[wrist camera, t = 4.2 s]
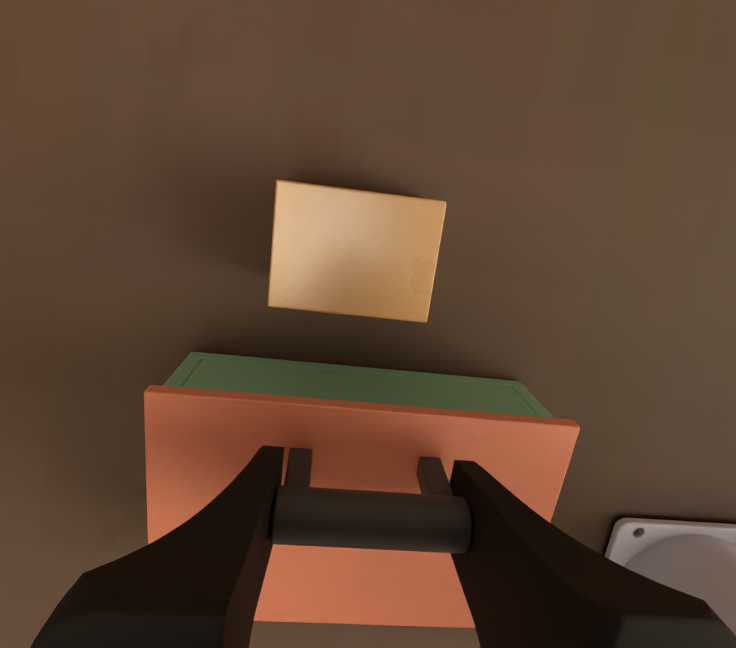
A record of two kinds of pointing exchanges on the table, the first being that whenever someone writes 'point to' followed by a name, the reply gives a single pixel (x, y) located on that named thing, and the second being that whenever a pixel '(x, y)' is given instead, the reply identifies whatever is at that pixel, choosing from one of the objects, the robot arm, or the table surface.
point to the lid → (350, 493)
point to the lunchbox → (354, 384)
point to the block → (353, 251)
